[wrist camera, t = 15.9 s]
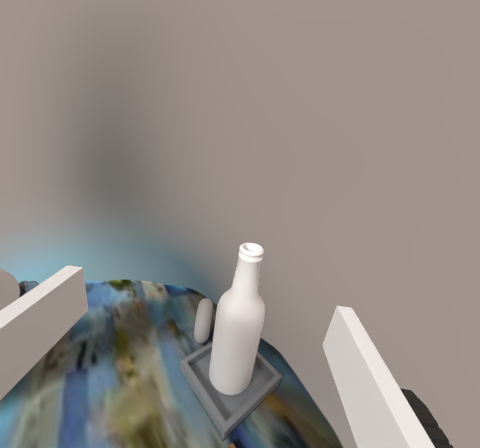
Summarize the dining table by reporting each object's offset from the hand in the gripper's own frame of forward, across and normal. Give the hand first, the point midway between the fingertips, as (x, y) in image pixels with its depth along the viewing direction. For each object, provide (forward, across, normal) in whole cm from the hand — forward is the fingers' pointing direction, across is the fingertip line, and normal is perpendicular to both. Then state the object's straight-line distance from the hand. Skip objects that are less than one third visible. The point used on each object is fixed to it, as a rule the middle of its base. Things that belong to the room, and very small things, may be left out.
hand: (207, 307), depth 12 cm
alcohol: (+23, +4, -38) cm, 44 cm away
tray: (+23, +4, -38) cm, 45 cm away
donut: (+32, -4, -38) cm, 50 cm away
